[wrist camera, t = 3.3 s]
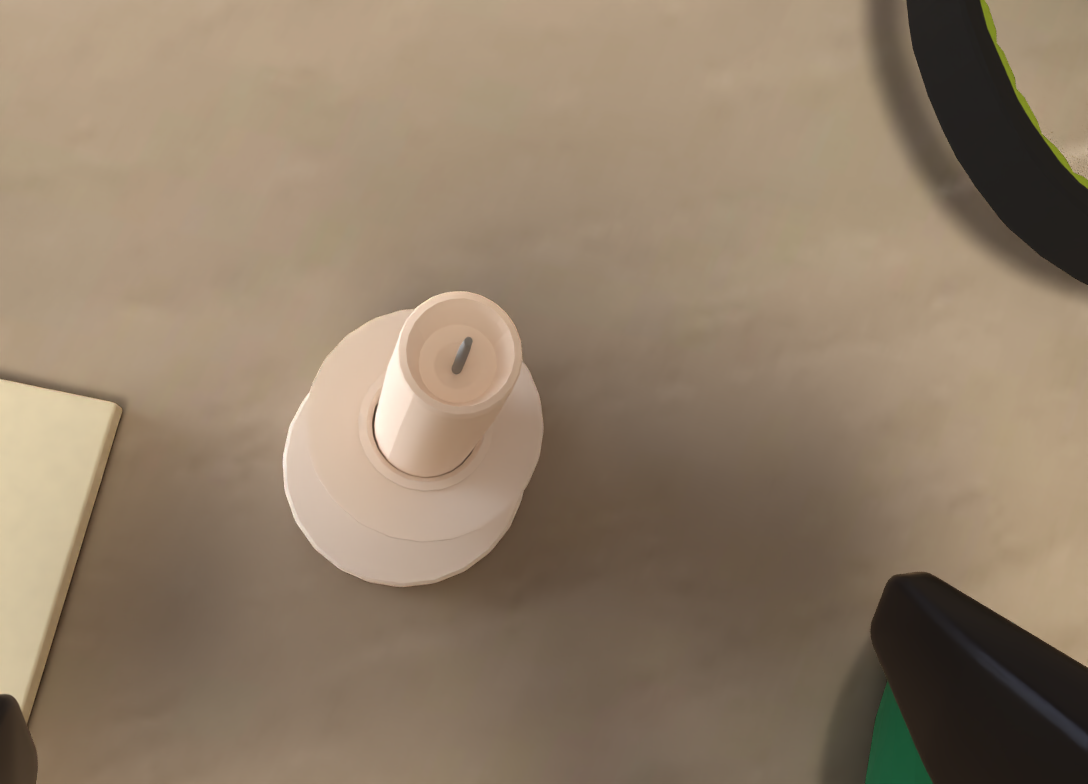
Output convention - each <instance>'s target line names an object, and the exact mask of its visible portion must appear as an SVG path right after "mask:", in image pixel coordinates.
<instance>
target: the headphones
mask: <svg viewBox="0 0 1088 784" xmlns="http://www.w3.org/2000/svg"><path fill="white" fill-rule="evenodd" d="M907 9H908V19H909V27H910V33H911V40H912V46H913V50H914V54H915V57H916V60H917V63H918V66H919V69H920V72H921V75H922V78H923V81H924V85H925V88H926V91H927V94H928V97H929V99H930V101H931V104H932V106H933V108H934V111H935V113H936V116H937V118H938V120H939V123H940V125H941V128H942V130H943V132H944V134H945V136H946V138H947V140H948V142H949V144H950V146H951V148H952V150H953V152H954V154H955V156H956V158H957V159H958V161H959V162H960V164H961V165H962V167H963V168H964V170H965V171H966V173H967V175H968V176H969V178H970V179H971V181H972V182H973V184H974V185H975V187H976V188H977V189H978V191H979V192H980V193H981V194H982V196H983V197H984V198H985V200H986V201H987V202H988V204H989V205H990V206H991V207H992V209H993V210H994V211H995V213H996V214H997V215H998V217H999V218H1000V219H1001V220H1002V221H1003V222H1004V223H1005V224H1006V226H1007V227H1008V228H1009V229H1010V230H1011V231H1013V232H1014V233H1015V234H1016V235H1017V236H1018V237H1020V238H1021V239H1022V240H1023V241H1024V242H1025V243H1027V244H1028V245H1029V246H1030V247H1031V248H1032V249H1033V250H1035V251H1036V252H1037V253H1038V254H1039V255H1040V256H1042V257H1043V258H1045V259H1046V260H1048V261H1049V262H1051V263H1052V264H1054V265H1055V266H1057V267H1058V268H1060V269H1061V270H1063V271H1065V272H1066V273H1068V274H1069V275H1071V276H1072V277H1074V278H1075V279H1077V280H1079V281H1081V282H1083V283H1085V284H1087V285H1088V180H1087V179H1086V178H1084V177H1083V176H1080V175H1078V174H1076V173H1073V171H1072V169H1071V167H1070V166H1069V164H1068V162H1067V160H1066V158H1065V157H1064V156H1063V155H1062V154H1061V152H1060V151H1059V150H1058V149H1057V148H1056V147H1055V146H1054V145H1053V144H1052V143H1051V142H1050V141H1049V140H1048V139H1047V138H1046V137H1045V136H1043V135H1042V133H1041V130H1040V127H1039V125H1038V122H1037V120H1036V118H1035V116H1034V114H1033V112H1032V111H1031V109H1030V107H1029V105H1028V103H1027V101H1026V100H1025V98H1024V97H1023V95H1022V94H1021V93H1020V92H1019V91H1018V90H1017V89H1016V83H1015V77H1014V75H1013V73H1012V70H1011V68H1010V66H1009V64H1008V61H1007V59H1006V57H1005V54H1004V52H1003V51H1002V49H1001V48H1000V47H999V45H998V44H997V41H996V29H995V26H994V22H993V19H992V16H991V13H990V10H989V7H988V5H987V3H986V2H985V0H907Z"/></svg>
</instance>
